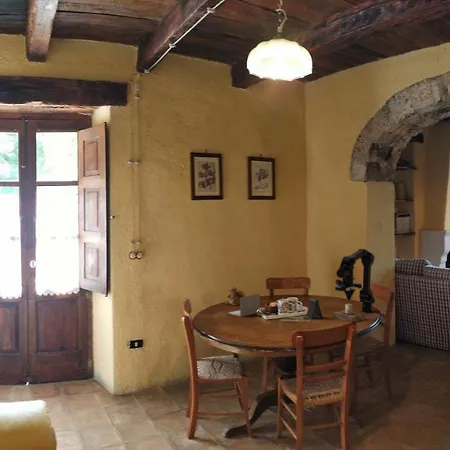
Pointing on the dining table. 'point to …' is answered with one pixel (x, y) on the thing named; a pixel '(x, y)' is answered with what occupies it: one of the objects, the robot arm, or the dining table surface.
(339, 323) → the dining table surface
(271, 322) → the dining table surface
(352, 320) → the walnut board
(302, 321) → the dining table surface
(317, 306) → the phone stand
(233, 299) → the stuffed squirrel
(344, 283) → the robot arm
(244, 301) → the laptop
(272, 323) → the dining table surface
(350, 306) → the birch peg
